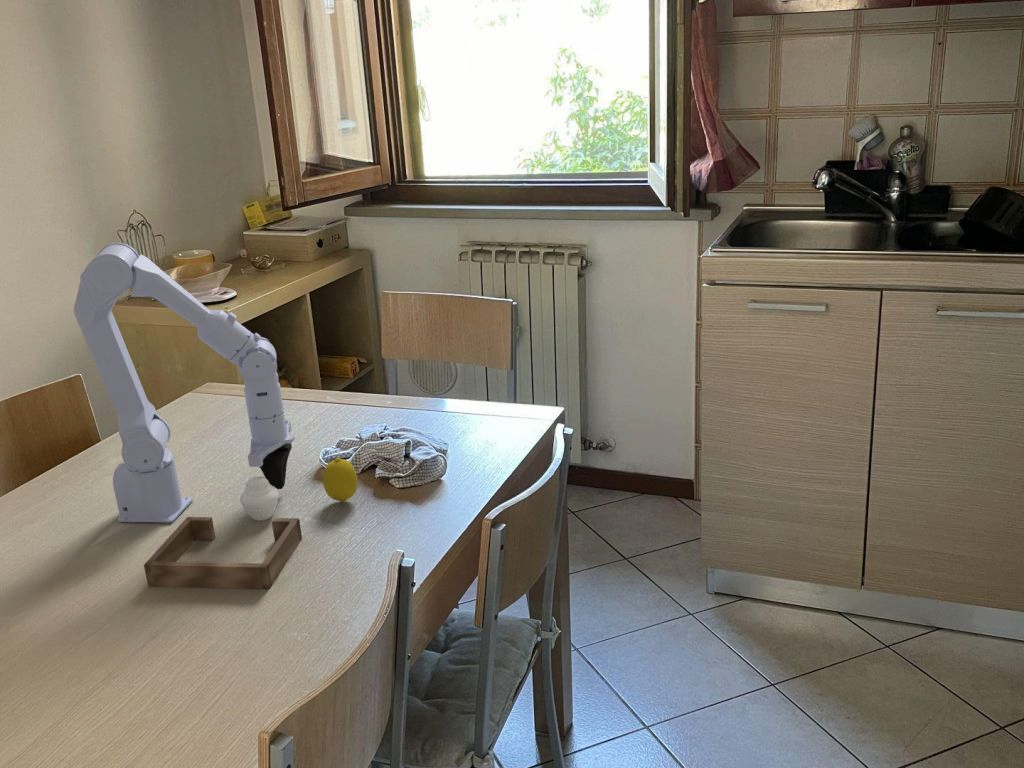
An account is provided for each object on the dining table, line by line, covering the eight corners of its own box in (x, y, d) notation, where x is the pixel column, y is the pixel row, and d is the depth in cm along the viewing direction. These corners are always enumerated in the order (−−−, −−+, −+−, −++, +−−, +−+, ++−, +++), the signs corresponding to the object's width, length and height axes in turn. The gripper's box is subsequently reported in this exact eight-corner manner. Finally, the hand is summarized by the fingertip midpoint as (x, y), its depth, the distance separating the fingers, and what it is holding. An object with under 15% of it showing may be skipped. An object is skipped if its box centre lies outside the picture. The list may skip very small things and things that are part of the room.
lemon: (353, 511, 151) (347, 466, 149) (321, 509, 152) (314, 464, 150) (364, 495, 156) (359, 451, 154) (333, 493, 158) (328, 450, 155)
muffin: (263, 528, 147) (256, 488, 145) (234, 520, 150) (228, 481, 148) (289, 511, 152) (284, 472, 150) (261, 504, 155) (255, 466, 153)
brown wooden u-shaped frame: (148, 586, 133) (143, 564, 132) (191, 536, 146) (187, 516, 145) (269, 589, 131) (265, 567, 129) (302, 538, 144) (299, 518, 142)
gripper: (273, 430, 146) (285, 507, 150) (303, 396, 159) (313, 468, 164) (230, 430, 147) (243, 507, 151) (264, 396, 160) (275, 468, 165)
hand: (277, 487), depth 158 cm, fingers closed
